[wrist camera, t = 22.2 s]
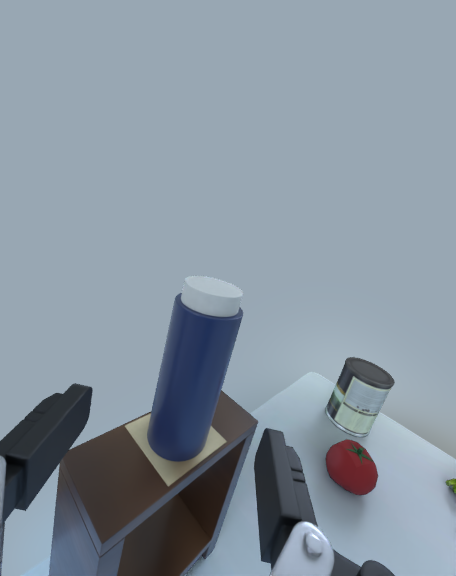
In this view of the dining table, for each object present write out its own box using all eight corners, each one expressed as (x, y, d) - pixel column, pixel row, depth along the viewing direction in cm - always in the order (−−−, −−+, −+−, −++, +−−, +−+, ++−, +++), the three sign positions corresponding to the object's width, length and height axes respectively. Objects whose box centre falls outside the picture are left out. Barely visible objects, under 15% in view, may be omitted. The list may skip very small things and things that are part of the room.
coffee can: (316, 406, 65) (336, 357, 61) (343, 401, 70) (363, 356, 66) (350, 441, 56) (376, 387, 52) (378, 433, 61) (404, 382, 57)
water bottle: (214, 456, 22) (261, 302, 18) (150, 467, 20) (188, 295, 16) (197, 409, 26) (232, 279, 22) (144, 414, 24) (173, 270, 20)
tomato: (344, 456, 52) (358, 428, 50) (378, 499, 44) (396, 468, 43) (312, 462, 48) (326, 431, 46) (343, 508, 41) (361, 475, 39)
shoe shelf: (72, 716, 20) (102, 542, 15) (44, 616, 24) (60, 452, 19) (214, 548, 32) (258, 420, 27) (179, 501, 36) (212, 381, 31)
